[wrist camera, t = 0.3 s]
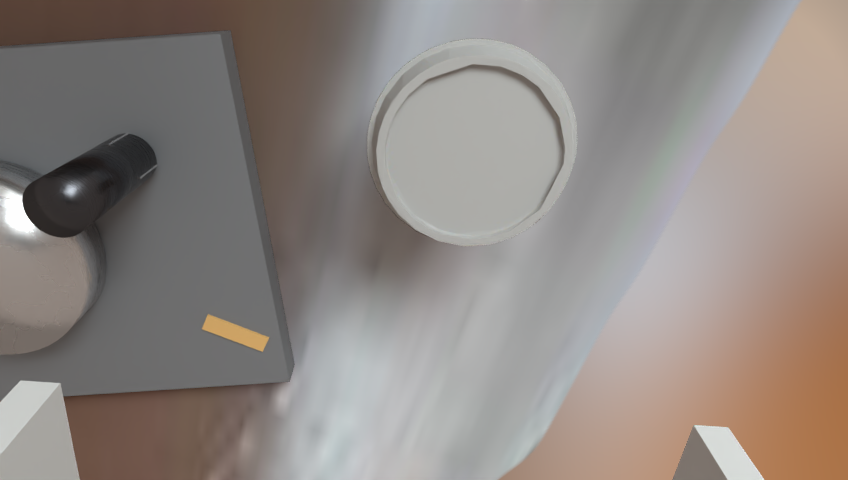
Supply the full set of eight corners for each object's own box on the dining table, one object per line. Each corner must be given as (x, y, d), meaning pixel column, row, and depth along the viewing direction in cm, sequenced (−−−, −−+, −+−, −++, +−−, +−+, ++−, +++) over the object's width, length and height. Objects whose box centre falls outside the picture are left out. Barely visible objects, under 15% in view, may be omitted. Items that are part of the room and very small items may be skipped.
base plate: (-278, 65, 34) (-320, 71, 32) (230, 30, 34) (219, 34, 32) (-99, 390, 44) (-122, 410, 42) (294, 364, 44) (288, 383, 42)
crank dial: (20, 356, 41) (-71, 446, 33) (-134, 226, 36) (-281, 294, 29) (221, 219, 37) (171, 285, 29) (74, 54, 32) (-30, 80, 25)
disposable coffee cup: (441, 202, 39) (454, 291, 28) (346, 88, 36) (318, 140, 25) (561, 113, 37) (625, 173, 26) (471, -17, 33) (501, -11, 22)
